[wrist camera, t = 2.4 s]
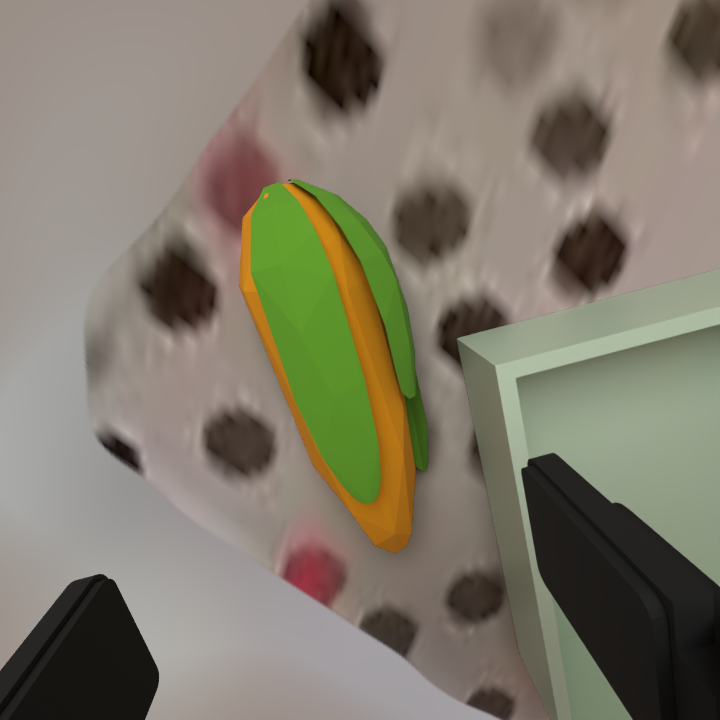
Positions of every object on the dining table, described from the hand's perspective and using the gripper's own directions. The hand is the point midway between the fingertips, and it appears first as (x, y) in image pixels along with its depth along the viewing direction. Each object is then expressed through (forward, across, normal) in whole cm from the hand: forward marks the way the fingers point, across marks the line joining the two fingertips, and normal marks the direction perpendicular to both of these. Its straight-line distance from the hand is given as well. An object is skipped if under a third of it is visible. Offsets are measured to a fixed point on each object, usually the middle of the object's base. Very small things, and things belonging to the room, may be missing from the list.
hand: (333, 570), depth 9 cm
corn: (+16, -1, 0) cm, 16 cm away
